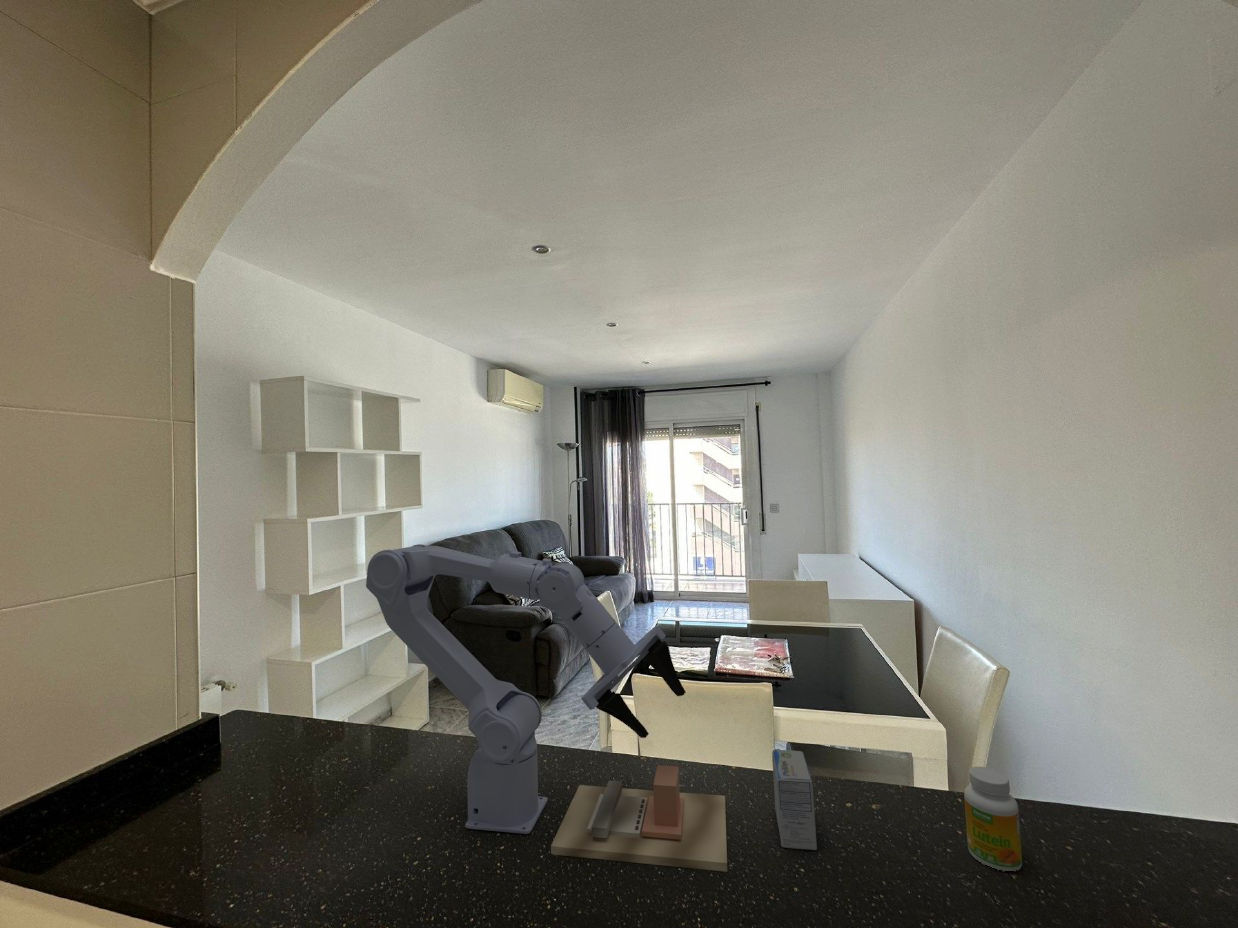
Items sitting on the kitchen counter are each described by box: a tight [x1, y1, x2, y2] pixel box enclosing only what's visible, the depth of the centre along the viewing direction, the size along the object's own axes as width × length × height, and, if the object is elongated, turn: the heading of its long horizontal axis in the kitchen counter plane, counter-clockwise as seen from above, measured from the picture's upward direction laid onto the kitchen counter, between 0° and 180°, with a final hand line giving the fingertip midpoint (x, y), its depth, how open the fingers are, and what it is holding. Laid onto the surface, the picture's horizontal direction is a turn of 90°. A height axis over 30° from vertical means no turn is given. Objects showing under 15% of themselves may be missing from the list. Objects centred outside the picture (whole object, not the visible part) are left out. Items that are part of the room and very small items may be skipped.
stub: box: [642, 764, 684, 840], centre depth 70 cm, size 5×8×6 cm, turn 170°
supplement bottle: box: [963, 766, 1023, 872], centre depth 63 cm, size 5×5×10 cm
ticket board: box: [550, 780, 728, 873], centre depth 70 cm, size 22×14×3 cm, turn 79°
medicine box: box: [771, 749, 818, 851], centre depth 69 cm, size 8×4×9 cm, turn 168°
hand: (663, 714), depth 71 cm, fingers open, 7 cm apart
